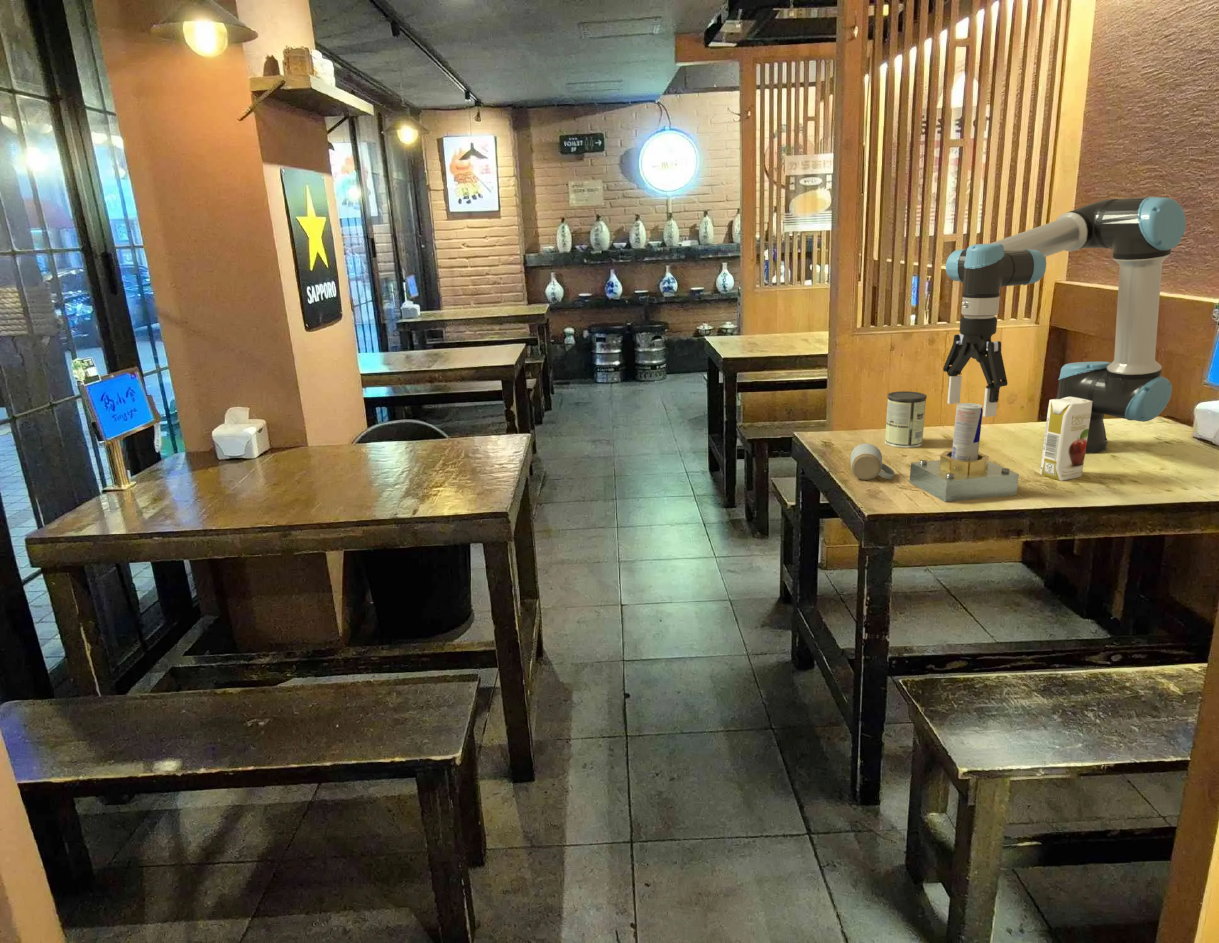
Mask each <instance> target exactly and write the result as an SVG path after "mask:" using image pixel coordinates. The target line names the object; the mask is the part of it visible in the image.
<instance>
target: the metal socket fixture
mask: <svg viewBox="0 0 1219 943" xmlns="http://www.w3.org/2000/svg"><path fill="white" fill-rule="evenodd" d="M1019 476H1020V473H1018V472H1015V471H1014V470H1013V471H1012V470H1010V468H1008V467H1003V466H1000V465H999V464H997V463H994V462H992V461H990V456H989V455H986V454H984V453H982V452H980V451H978V460H973V461H965V460H957V459H953V458H952V450H945V451H943V452H942V453H941V454H940V458H939V459H938V460H924V459H921V460H919V461H916V462H914V461H913V462H910V473H909V483H910V484H911V485H913V486H915V487H918V488H919V489H921V490H923V491H924V492H926V493H928V494H930V495H931V496H933V497H935V498H937V499H939V500H941V501H943V502H944V503H949V502H960V501H961V502H962V501H969V500H971V501H972V500H979V499H990V498H998V497H1008V496H1009V497H1011V496H1016V495H1017V494H1018V487H1019V486H1018V485H1019V479H1020V477H1019Z"/></svg>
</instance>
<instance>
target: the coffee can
mask: <svg viewBox="0 0 1219 943" xmlns="http://www.w3.org/2000/svg"><path fill="white" fill-rule="evenodd" d="M927 397H928V396H927V395H926V394H925V393H922V392H918V391H906V390H905V391H903V390H902V391H894V392H893V391H892V392H889V393H887V404H886V405H887V408H886V418H885V419H886V420H885V421H886V422H885V423H886V424H885V437H884V438H885V439H884V443H885V445H886V446H889V447H894V448H899V449H900V448H901V449H915V448H919V447H921V446H923V444H924V443H923V441H924V428H925V416H926V415H925V414H926V404H927V403H926V402H927Z"/></svg>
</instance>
